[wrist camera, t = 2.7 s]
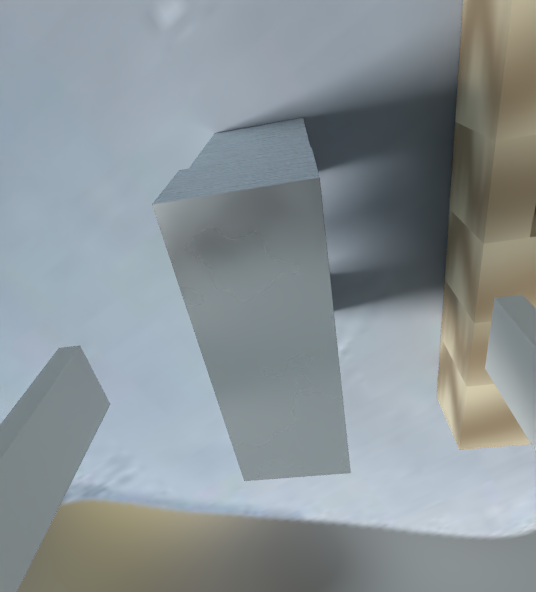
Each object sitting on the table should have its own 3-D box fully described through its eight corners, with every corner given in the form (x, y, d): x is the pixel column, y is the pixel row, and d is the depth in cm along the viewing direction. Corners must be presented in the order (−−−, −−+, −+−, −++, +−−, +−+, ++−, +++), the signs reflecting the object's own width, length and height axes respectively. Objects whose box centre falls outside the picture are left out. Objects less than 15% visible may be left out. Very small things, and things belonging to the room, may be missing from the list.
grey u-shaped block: (212, 127, 18) (151, 204, 10) (302, 111, 18) (319, 177, 9) (258, 324, 24) (244, 481, 15) (326, 316, 23) (350, 472, 15)
